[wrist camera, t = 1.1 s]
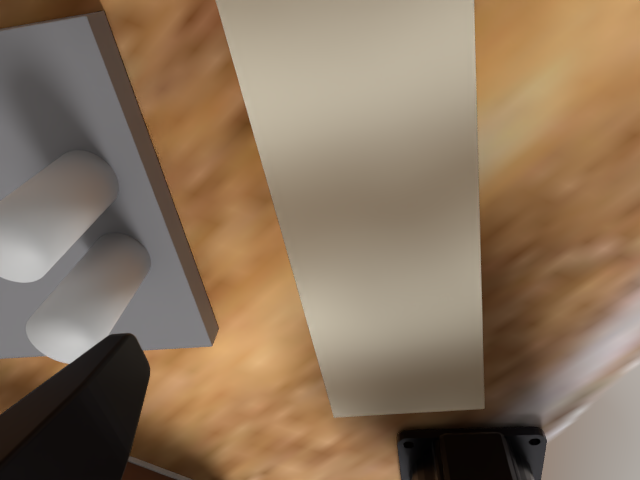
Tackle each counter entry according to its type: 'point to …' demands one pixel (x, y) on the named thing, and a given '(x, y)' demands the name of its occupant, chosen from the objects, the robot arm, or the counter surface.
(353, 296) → the beige marbled block
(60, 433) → the robot arm
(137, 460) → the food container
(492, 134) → the counter surface
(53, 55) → the peg stand
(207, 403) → the counter surface
